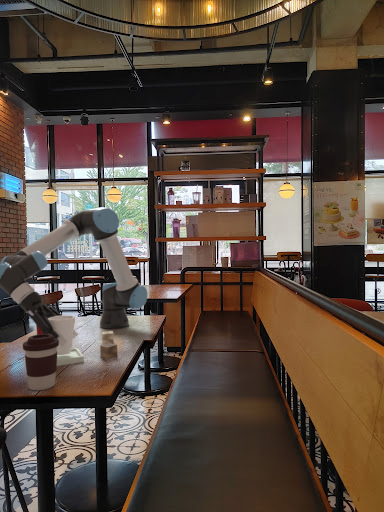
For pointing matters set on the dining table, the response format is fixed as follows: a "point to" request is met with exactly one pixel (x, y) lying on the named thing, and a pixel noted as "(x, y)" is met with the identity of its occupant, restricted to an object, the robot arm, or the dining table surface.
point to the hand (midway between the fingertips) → (70, 340)
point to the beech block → (107, 337)
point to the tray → (70, 357)
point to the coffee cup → (41, 361)
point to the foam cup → (64, 331)
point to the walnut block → (108, 351)
